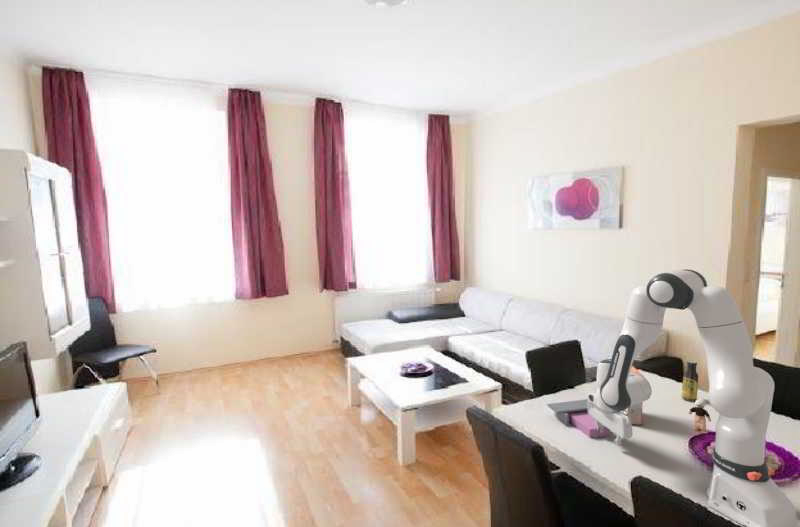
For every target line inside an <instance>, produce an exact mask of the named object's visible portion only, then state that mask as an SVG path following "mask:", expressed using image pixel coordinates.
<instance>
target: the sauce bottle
mask: <svg viewBox="0 0 800 527" xmlns="http://www.w3.org/2000/svg"><path fill="white" fill-rule="evenodd" d="M697 366H698V362H697V361H695V360H687V362H686V370H685V371H684V374H683V377H682V389H681V390H682V391H681V398H682V399H683V400H684V401H687V402H692V403H693V402H695V401H696V400H697V399H698V390H699V388H698V387H699V375H698V373H697Z"/></svg>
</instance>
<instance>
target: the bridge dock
mask: <svg viewBox="0 0 800 527" xmlns="http://www.w3.org/2000/svg"><path fill="white" fill-rule="evenodd" d="M588 400H589V399H588V398H587V399H578V400H569V401H562V402H555V403H554V402H553V403H547V404H546V405H547V407H548V408H550V409H551V410H552V411H553V412H554V413H553V415H554V417H555V416H556V418H557V419H558V420H559V421H560V420H561V421H560V422H562V424H564V425H565V426H569V425H570V422H569V414H567V412H575V411H583V410H587V411H588Z"/></svg>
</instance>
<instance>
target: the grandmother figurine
mask: <svg viewBox="0 0 800 527" xmlns="http://www.w3.org/2000/svg"><path fill="white" fill-rule="evenodd" d="M694 404H695V405H696V406H694V407H691V408H690V409H689V411H688V415H692V414H693V413H695V414H694V428H693V430H694V431H696V432H699V431H700V432H701V433H702V434H706V433H705V432H708V433H709V430H708V429H707V421H708V422H709V423H710V422H712V419H711V415H710V414H709V412H708V411H707V410H706V409H704V408H705V405H706V400H705V399H703V398H696V401H694Z"/></svg>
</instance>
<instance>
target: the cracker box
mask: <svg viewBox="0 0 800 527" xmlns="http://www.w3.org/2000/svg"><path fill="white" fill-rule="evenodd" d="M631 371H632V372H634V373H636V374H638V375H641V376H643V377H644V375H643V373H641V372H640V371H639V370H638V369H637V368H636V367H635V366H634V365H633V364H632V367H631ZM644 378H645V377H644ZM643 402H644V401H643ZM643 402H641V403H638V404H636V405H633V406H630V407H629V408H627V409H625V410H623V411H625V412H627V413H628V416H629V417H630V419H631V422H632V425H637V426H639V425H640V426H642V425H643Z"/></svg>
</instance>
